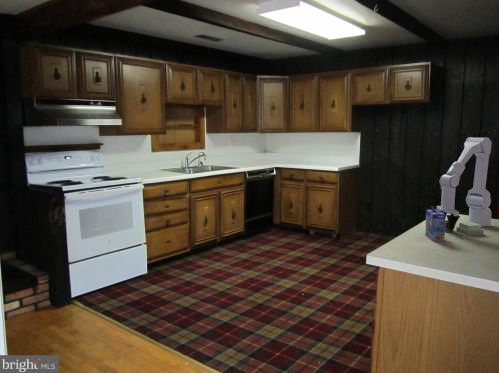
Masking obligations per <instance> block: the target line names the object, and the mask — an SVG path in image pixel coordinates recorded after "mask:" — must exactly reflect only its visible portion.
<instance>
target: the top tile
mask: <svg viewBox="0 0 499 373" xmlns="http://www.w3.org/2000/svg"><path fill="white" fill-rule="evenodd" d="M458 227H459V228H461V229H464V230H466V231H480V230H482V227H481V225H479V224H477V223H474V222H469V221H465V222H464V221H461V222H458Z"/></svg>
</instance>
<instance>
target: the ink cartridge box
mask: <svg viewBox="0 0 499 373" xmlns="http://www.w3.org/2000/svg"><path fill="white" fill-rule="evenodd" d="M430 207H431V209H426V210H425V236H426V237H427V238H428V239H429V240H431V241H432V242H444V241H445V236H446V235H445V234H446V232H445V221H446V218H445V214H444V213H442V212H440V211H439V210H437V209H435V207H434V206H432V205H430Z"/></svg>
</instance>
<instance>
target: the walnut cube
mask: <svg viewBox="0 0 499 373" xmlns="http://www.w3.org/2000/svg"><path fill="white" fill-rule="evenodd" d="M454 230H455V229H454ZM454 230H449V227H448V219H447V220H446V219H445V233H451V232H454Z"/></svg>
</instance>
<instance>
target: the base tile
mask: <svg viewBox="0 0 499 373" xmlns="http://www.w3.org/2000/svg"><path fill="white" fill-rule="evenodd" d="M456 232H457V233H461V234H463V235H465V236H466V237H467V236H469V237H470V236H484V233H485V232H484V229H481V230H480V231H466V230H464V229H461V228H459V226H456Z"/></svg>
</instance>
